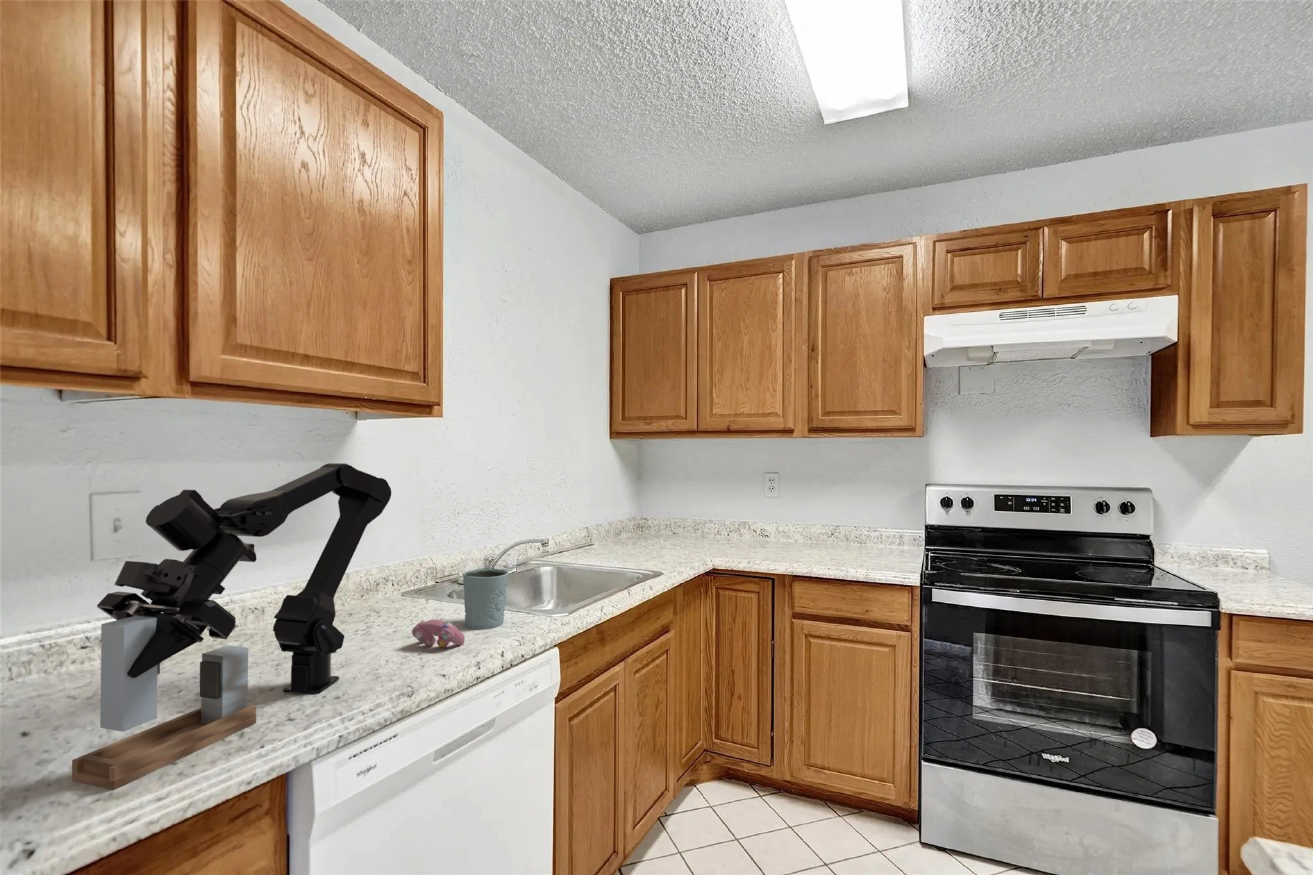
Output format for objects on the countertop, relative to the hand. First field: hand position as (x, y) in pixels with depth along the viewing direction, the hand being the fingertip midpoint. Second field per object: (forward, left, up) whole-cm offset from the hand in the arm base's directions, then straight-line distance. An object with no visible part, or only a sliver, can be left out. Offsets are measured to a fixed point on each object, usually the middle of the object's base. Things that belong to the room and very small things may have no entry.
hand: (117, 674), depth 79 cm
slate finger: (-1, 0, -7) cm, 7 cm away
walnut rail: (-7, +2, -12) cm, 14 cm away
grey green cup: (-68, +25, -13) cm, 74 cm away
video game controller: (-52, +21, -13) cm, 57 cm away
